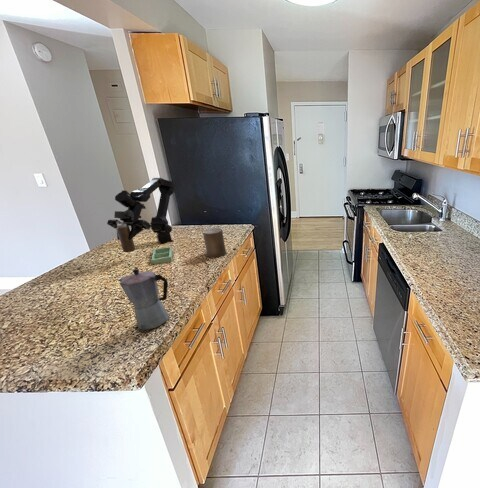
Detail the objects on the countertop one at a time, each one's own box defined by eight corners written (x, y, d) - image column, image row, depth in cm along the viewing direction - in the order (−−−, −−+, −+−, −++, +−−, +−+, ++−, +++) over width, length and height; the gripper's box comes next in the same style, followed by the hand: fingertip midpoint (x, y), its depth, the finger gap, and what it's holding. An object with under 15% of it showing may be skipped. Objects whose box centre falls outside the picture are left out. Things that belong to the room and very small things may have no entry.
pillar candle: (229, 253, 142) (225, 227, 137) (211, 259, 136) (207, 232, 130) (220, 249, 149) (216, 224, 143) (203, 254, 142) (198, 228, 136)
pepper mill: (137, 247, 135) (129, 222, 130) (133, 251, 131) (125, 225, 125) (125, 249, 134) (117, 223, 128) (121, 253, 129) (113, 226, 124)
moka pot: (139, 314, 92) (123, 263, 85) (184, 312, 94) (172, 262, 86) (122, 332, 84) (103, 277, 76) (172, 329, 85) (157, 275, 77)
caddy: (155, 254, 142) (153, 249, 141) (172, 251, 146) (171, 246, 145) (152, 265, 129) (151, 260, 128) (171, 262, 133) (170, 256, 132)
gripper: (103, 203, 127) (91, 232, 121) (140, 204, 127) (130, 232, 121) (120, 214, 138) (110, 241, 132) (155, 215, 137) (146, 242, 131)
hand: (123, 239), depth 128 cm, fingers closed on pepper mill, 5 cm apart
